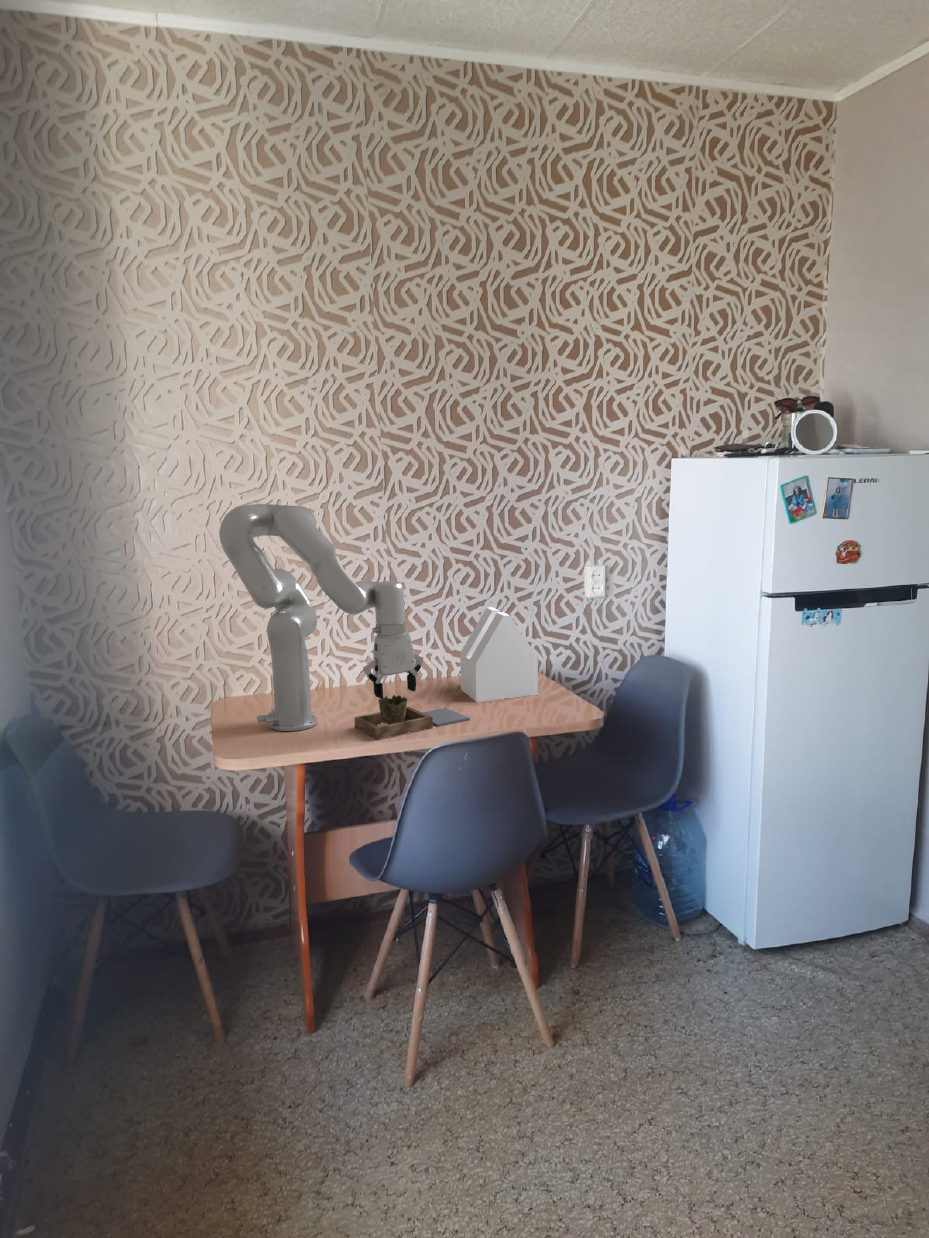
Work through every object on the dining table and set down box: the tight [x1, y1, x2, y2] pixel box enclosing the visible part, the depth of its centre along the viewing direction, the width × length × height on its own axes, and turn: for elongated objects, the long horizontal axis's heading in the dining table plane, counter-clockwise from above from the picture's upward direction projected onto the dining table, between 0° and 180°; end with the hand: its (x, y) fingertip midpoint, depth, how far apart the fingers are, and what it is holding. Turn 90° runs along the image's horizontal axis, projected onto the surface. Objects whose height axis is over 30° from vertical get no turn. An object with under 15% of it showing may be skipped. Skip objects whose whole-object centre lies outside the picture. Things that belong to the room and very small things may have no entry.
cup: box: [378, 694, 408, 725], centre depth 221 cm, size 8×7×8 cm
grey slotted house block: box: [459, 606, 539, 703], centre depth 253 cm, size 19×15×25 cm
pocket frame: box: [354, 706, 434, 740], centre depth 221 cm, size 16×12×3 cm
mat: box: [421, 707, 470, 728], centre depth 230 cm, size 10×12×1 cm
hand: (395, 693), depth 220 cm, fingers open, 9 cm apart
